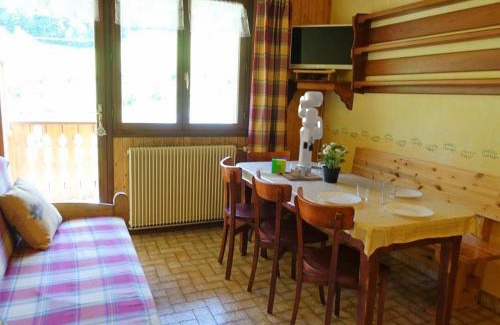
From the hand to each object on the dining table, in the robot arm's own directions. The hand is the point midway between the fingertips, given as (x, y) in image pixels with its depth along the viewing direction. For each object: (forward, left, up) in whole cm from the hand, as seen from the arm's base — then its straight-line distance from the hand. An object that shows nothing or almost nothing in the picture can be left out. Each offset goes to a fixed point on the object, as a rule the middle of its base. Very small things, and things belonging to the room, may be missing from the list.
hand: (307, 149), depth 284 cm
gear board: (+14, -9, -17) cm, 24 cm away
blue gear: (0, 0, -17) cm, 17 cm away
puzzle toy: (-4, -20, -18) cm, 27 cm away
